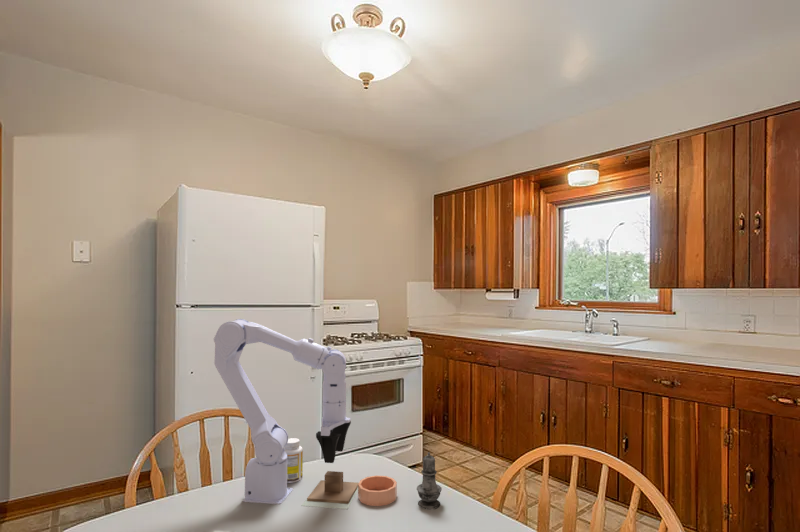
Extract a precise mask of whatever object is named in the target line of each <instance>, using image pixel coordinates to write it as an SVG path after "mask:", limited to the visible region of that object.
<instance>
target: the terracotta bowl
mask: <svg viewBox="0 0 800 532" xmlns="http://www.w3.org/2000/svg"><path fill="white" fill-rule="evenodd" d="M397 497H398V482H397V481H396V480H395V479H394V478H393V477H390V476H387V475H371V476H367V477H364V478H362V479H360V480H359V484H358V491H357V498H358V500H359V501H360V503H362V504H364V505H367V506H373V507H374V506H375V507H381V506H387V505H390V504H392V503H393V502H395V501H396V499H397Z"/></svg>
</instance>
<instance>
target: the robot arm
mask: <svg viewBox="0 0 800 532" xmlns="http://www.w3.org/2000/svg"><path fill="white" fill-rule="evenodd" d="M314 341H315V339H314V338H311V337H309V338H308V339H307V338H304V337H303V338H301V339H299V340H295V339H293V338H292V337H289V336H287V335H284V334H283V333H280V332H278V331H276V330H273V329H271V328H269V327H266V325H265V326H264V325H263V324H261V323H257V322H254V321H249V320H246V319H244V318H238V319H234V320H233V321H230V320H229V321H226V322H223V323H222V324H221V325H219V327H218V329H217V331H216V333H215V335H214V338H213V342H214V366H215V368H216V370H217V372H218V374H219V375H220V378H221V379H222V381H223V382H224V384H225V386H226V388H227V390H228V392H229V393H230V395H231V397H232V399H233V400H234V402H235V404H236V406H237V407H238V409H239V411H240V413H241V415H242V416H243V418H244V420H245V422H246V423H247V425H248V427H249V428H250V436H251V438H250V439H251V442H252V443H253V446H254V455H255V457H252V458H250V459H249V460H248V462H247V465H246V467H245V473H244V499H242V501H243V502H245V503H258V504H269V505H271V504H272V505H281V504H283V502H284V501H285V500H286V499H287V497H289V495H291V493H293V491H294V488H293V487H288V483H287V454H286V452H285V450H284V447H285V446H286V445H287V442H288V439H289V434H288V431H287V430H286V429H285V428H283V427H282V426H281V425H279V424H278V422H277V420H276V419H275V418H274V417H273V416H271V415H270V413H269V412H268V411H267V409H266V407H265V405H264V403H263V402H262V400H261V397H260V396H259V394H258V393H257V391H256V388H255V387H254V385H253V384H252V382H251V380H250V379H249V377H248V375H247V373H246V371H245V370H244V368H243V366H242V364H241V362H240V358H241V356H242V352H243V350H244V347H246V345H249V344H250V345H251V344H256V343H262V344H264V345H265V344H266V345H268V346H271V347H274V348H276V349H278V350H279V349H280V350H283V351H284V352H288V353H290V354H291V355H292V357H293V360H294V361H297V362H298V363H301V364H303V365H306V366H308V367H311V368H313V369H316V370H321V371H322V372H323V381H322V418H321V427H320V430H319V431H317V432H316V434H315V439H316V440H317V441H318V443H319V445H320V448H321V452H322V457H323V460H324V463H326V464H334V463H335V459H336V452H343V450H344V448H345V443H346V439H347V438H346V436H347V434H348V430H349V428H350V426H351V424H352V419H351V417H347V381H346V378H347V377H346V369H347V358H346V355H345V354H344V353H343V352H342V351H340V350H339V349H338V348H337V349H335V348H334V349H332V348H333V347H332V346H329V345H328V346H327V347H326V346H324V345H322V344H319V343H316V342H314Z"/></svg>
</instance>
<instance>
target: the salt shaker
mask: <svg viewBox="0 0 800 532" xmlns="http://www.w3.org/2000/svg"><path fill="white" fill-rule="evenodd" d="M437 473H438V472H437V470H436V459H435V457H434V456H433V455H431V453H430V451H428V452H427V455H425V456H423V458H422V469H421V474H422V481H421V484H419V485H417V486H416V490H417V494H418V496H419V498H420V500H418V501H417V505H418V507H419V508H421V509H423V510H431V511H432V510H436V509H438V508H440V507H441V501H440V500H438V499H439V498H440V496H441V492H442V487H441V486H440V485H439V484H437V482H436V480H437V479H436V474H437Z"/></svg>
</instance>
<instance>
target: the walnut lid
mask: <svg viewBox="0 0 800 532" xmlns="http://www.w3.org/2000/svg"><path fill="white" fill-rule="evenodd" d="M324 480H325V481H324ZM324 480H323V479H320V481H319V482H318V483H317V484H316V486H315V487H314V488H315V489H314V488H313V489H312V491H311V492H312V493H311V492H310V493H309V495H308V496H307V498H306V499H307V501H317V502H331V503H345V504H348V503H349V502H350V500H351V498H352V496H353V495H354V493H355V491H356V489H357V487H358V484H359V483H355V482H356V481H344V471H333V470H327V471H326V472H325V474H324Z"/></svg>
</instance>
